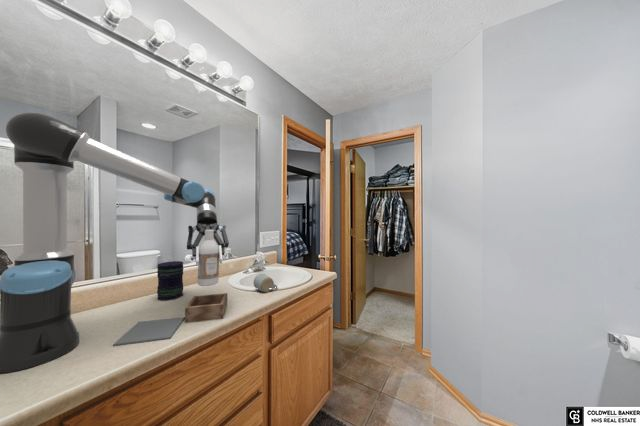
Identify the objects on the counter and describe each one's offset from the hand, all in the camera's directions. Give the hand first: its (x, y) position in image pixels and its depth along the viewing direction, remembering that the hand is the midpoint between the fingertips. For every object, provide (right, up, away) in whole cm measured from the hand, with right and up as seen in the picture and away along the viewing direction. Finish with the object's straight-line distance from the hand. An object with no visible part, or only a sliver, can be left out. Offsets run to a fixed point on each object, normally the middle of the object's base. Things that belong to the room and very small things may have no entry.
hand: (209, 262), depth 82 cm
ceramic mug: (+13, -20, +29) cm, 38 cm away
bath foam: (-2, -9, +3) cm, 9 cm away
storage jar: (-27, -20, +20) cm, 40 cm away
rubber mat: (-13, -19, -10) cm, 25 cm away
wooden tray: (-2, -20, +3) cm, 20 cm away
